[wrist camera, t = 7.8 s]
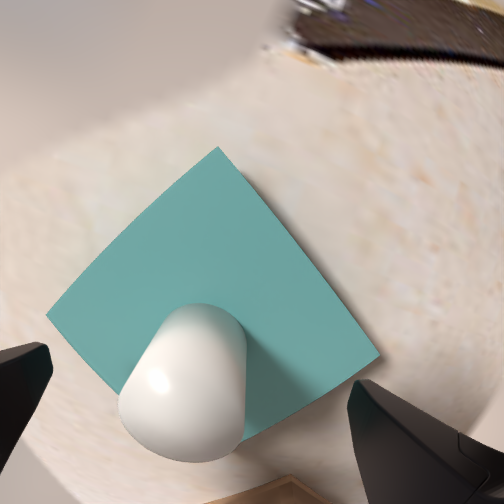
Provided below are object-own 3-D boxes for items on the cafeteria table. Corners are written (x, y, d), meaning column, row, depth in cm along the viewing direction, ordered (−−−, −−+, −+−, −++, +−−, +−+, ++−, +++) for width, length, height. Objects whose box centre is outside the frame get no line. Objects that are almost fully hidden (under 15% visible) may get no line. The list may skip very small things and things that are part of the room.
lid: (223, 153, 11) (193, 117, 5) (363, 331, 12) (427, 423, 6) (69, 298, 12) (-18, 361, 6) (204, 432, 13) (187, 531, 8)
